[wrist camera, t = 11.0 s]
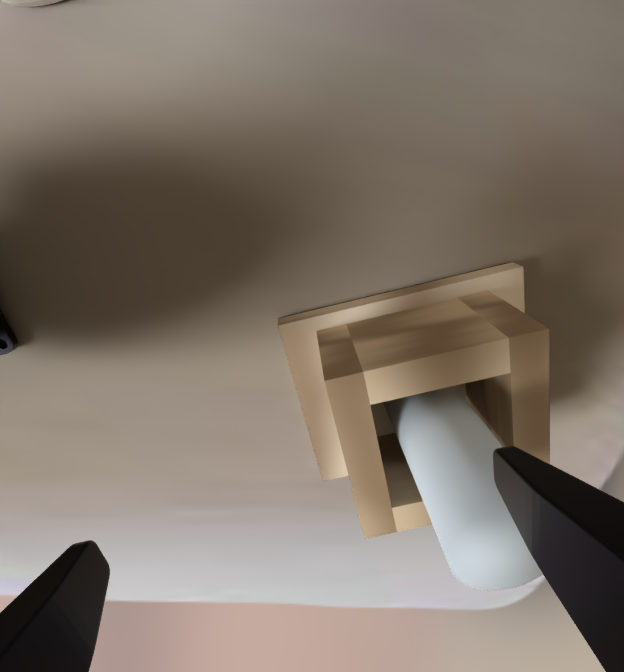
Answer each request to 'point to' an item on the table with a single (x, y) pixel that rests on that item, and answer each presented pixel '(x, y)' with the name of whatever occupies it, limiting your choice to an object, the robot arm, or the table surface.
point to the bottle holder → (416, 379)
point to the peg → (461, 488)
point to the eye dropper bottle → (29, 2)
